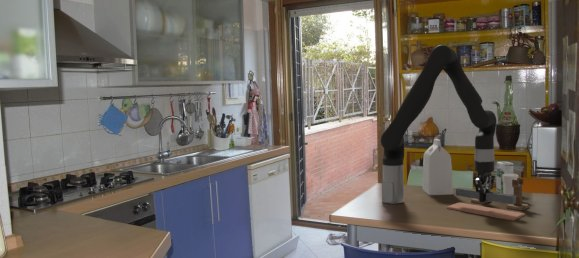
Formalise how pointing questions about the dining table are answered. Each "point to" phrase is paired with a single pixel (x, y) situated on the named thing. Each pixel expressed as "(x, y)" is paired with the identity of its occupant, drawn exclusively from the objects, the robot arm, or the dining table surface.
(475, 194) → the rail
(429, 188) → the milk
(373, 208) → the dining table surface
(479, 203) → the stand left
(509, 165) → the syrup box
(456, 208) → the mat
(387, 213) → the dining table surface
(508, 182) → the cup
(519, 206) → the stand right
